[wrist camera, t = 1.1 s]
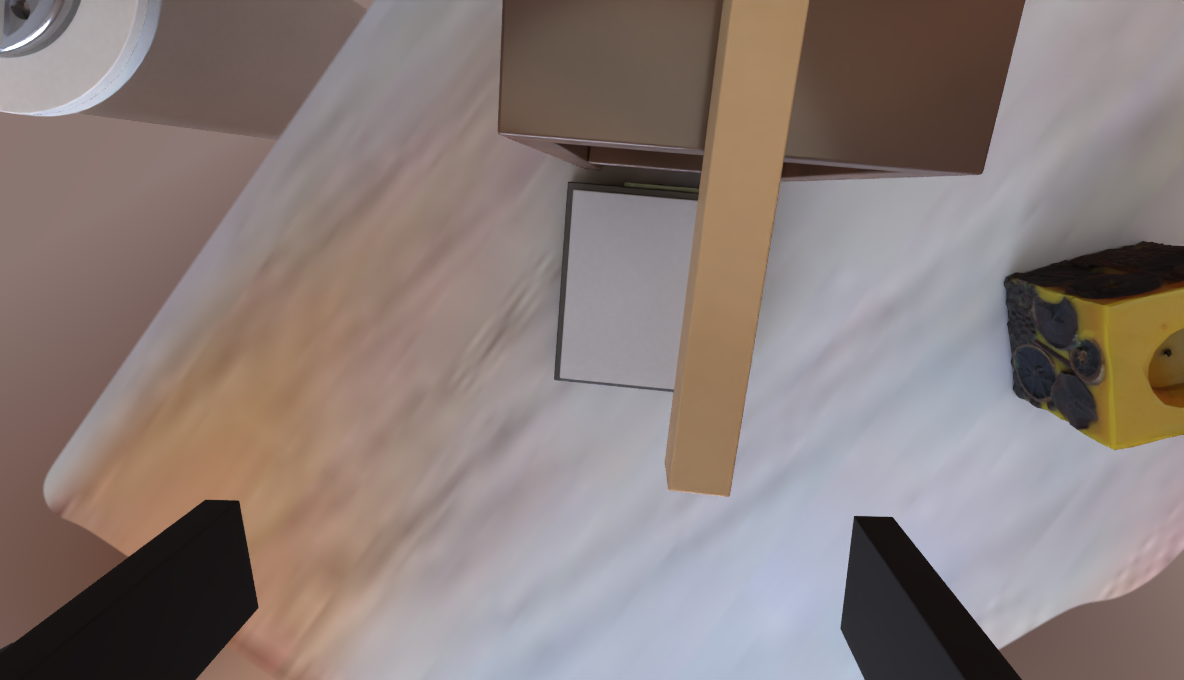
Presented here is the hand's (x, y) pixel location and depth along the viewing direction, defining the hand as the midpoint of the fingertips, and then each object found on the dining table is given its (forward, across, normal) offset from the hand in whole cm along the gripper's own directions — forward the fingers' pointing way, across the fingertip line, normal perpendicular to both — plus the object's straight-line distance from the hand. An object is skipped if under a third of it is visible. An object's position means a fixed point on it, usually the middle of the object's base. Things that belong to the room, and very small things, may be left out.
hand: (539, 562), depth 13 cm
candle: (+35, +36, -2) cm, 50 cm away
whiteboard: (+34, +4, 0) cm, 35 cm away
